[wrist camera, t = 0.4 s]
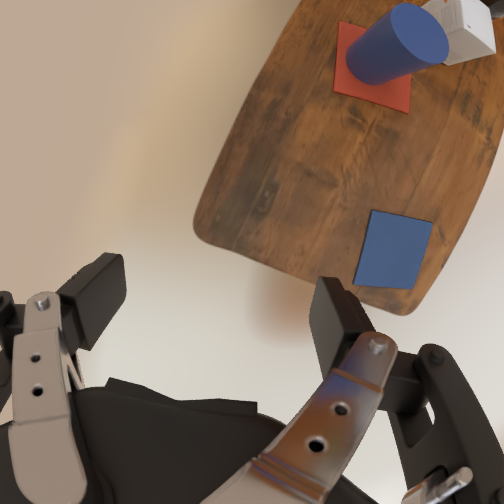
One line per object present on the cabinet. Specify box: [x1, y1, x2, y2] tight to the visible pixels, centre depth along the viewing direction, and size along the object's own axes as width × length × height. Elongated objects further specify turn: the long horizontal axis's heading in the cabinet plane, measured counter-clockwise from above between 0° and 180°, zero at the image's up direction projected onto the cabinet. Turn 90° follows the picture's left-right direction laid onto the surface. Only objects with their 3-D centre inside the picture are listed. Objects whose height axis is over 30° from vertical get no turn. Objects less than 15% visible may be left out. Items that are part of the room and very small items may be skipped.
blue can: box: [346, 3, 449, 85], centre depth 19 cm, size 6×6×12 cm
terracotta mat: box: [333, 21, 411, 114], centre depth 24 cm, size 10×10×1 cm
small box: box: [421, 0, 496, 66], centre depth 17 cm, size 8×6×10 cm
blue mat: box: [353, 210, 433, 289], centre depth 33 cm, size 10×10×1 cm
